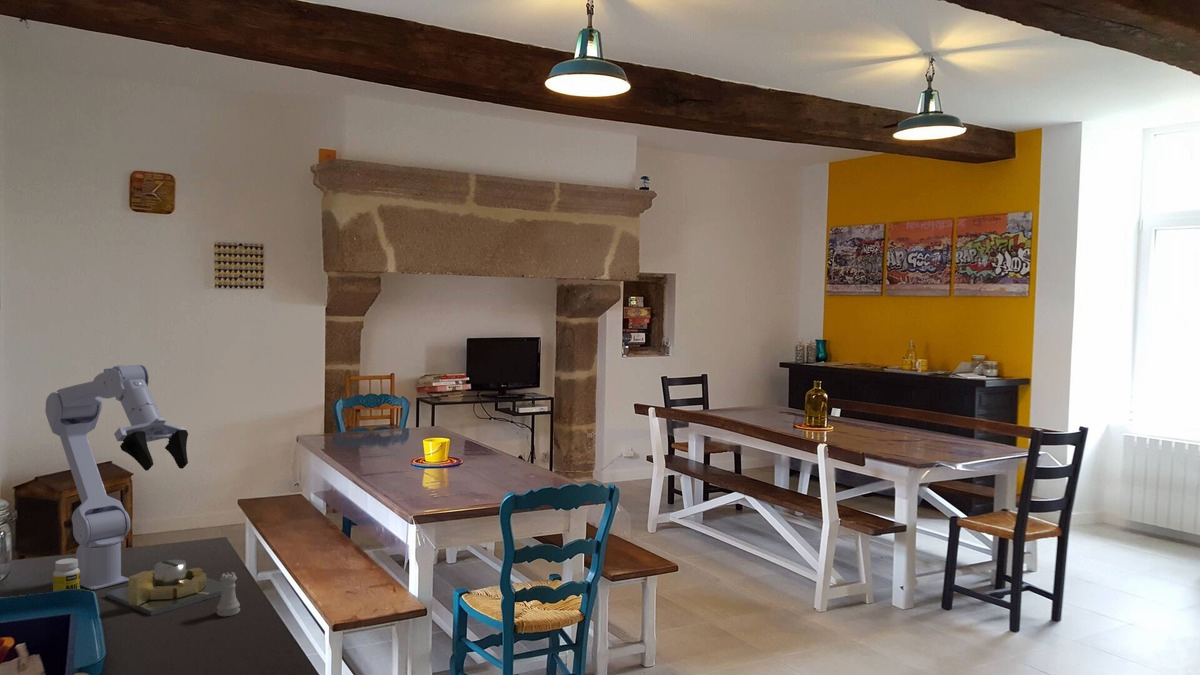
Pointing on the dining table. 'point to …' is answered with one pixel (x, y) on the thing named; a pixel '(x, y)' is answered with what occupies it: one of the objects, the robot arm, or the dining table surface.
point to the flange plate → (167, 602)
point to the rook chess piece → (228, 596)
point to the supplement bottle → (66, 574)
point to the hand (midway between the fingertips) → (167, 466)
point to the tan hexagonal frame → (146, 590)
